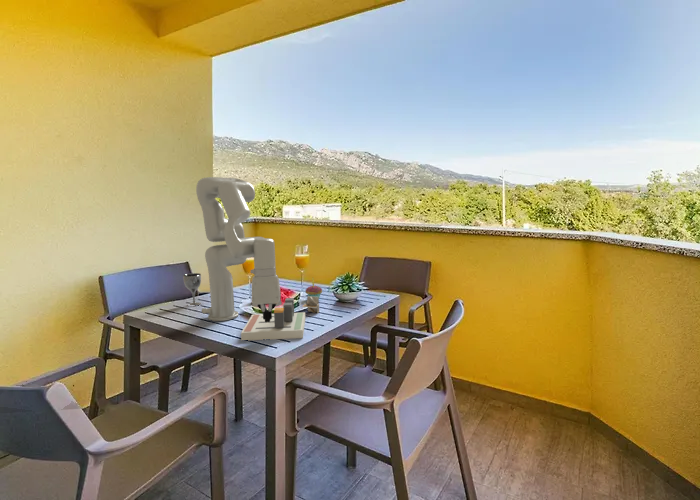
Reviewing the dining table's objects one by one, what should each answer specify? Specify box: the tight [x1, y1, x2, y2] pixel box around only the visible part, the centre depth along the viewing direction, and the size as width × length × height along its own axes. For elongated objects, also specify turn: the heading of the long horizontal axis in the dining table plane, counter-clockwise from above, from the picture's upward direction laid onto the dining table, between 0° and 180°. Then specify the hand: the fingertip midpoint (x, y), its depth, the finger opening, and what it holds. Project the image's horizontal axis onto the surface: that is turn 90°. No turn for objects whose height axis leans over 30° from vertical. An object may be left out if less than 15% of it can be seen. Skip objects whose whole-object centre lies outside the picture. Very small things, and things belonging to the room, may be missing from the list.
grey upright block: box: [273, 307, 285, 328], centre depth 138 cm, size 3×4×7 cm
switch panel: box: [240, 297, 306, 342], centre depth 145 cm, size 22×22×10 cm
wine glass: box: [182, 272, 202, 306], centre depth 183 cm, size 8×8×15 cm
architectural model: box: [301, 295, 320, 314], centre depth 166 cm, size 3×7×7 cm, turn 71°
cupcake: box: [305, 278, 323, 298], centre depth 188 cm, size 9×8×12 cm
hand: (267, 321), depth 138 cm, fingers closed
